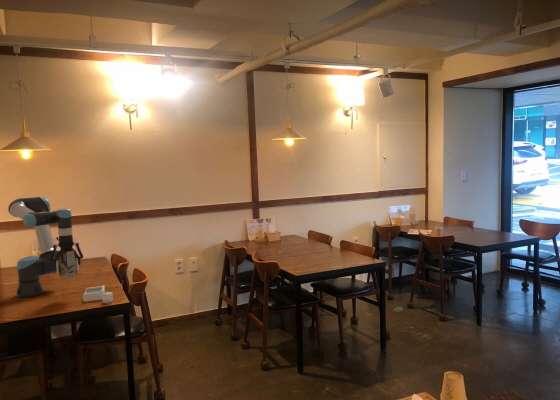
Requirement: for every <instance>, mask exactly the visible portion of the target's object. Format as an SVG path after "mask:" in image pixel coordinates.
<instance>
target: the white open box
mask: <svg viewBox="0 0 560 400" xmlns="http://www.w3.org/2000/svg"><path fill="white" fill-rule="evenodd" d="M105 292H106V288H105V284H104V285H100V286H93V287H86V288H85V291H84V292H83V296H82V298H83V299H82V301H83V302H84V303H85V302H86V303H87V302H93V301H103V300H102V294H103V293H105Z"/></svg>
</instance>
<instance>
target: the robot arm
mask: <svg viewBox="0 0 560 400" xmlns="http://www.w3.org/2000/svg"><path fill="white" fill-rule="evenodd" d="M7 210H8V213H9V214H10V215H11V216H12V217H15V218H18V219H20V220H22V222H23V225H24V226H25V227H26V228H34V231H35V234H36V239H37V243H38V246H39V247H38V248H39V251H40V254H39V255H30V256H26V257H23V258H21V259H19V260H17V263H16V271H17V279H18V280H17V281H18V285H17V289H16V291H15V295H16V296H15V297H16V298H19V299H22V298H25V299H26V298H33V297H38V296H40V295H43V294H44V293H45V289H44V286H43V284H42V281H41V279H40V278H41V276H47V275H52V274H57V273H58V274H59V264H58V257H59V255H60V254H61V252H62V250H75V249H74V247H76V249H77V250H76V251H77V252H78V253H77V252H76V262H77V272H79V269H80V265H81V259H83V258H84V255H83V252H82V250H81V247H80V242H74V237H73V236H74V235H73V221H72V210H71V209H70V208H60V209H57V210H53V211H51V204H50V202H49V200H48V199H47V197H44V196H35V197H21V198H17V199H15V200H13V201H11V202H10V203H9V205H8V207H7ZM50 225H57V233H58V243H54V239H53V235H52V231H51V227H50ZM58 247H59V248H60V249H59V250H58ZM57 251H59V253H58V252H57Z"/></svg>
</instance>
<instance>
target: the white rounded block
mask: <svg viewBox="0 0 560 400" xmlns="http://www.w3.org/2000/svg"><path fill="white" fill-rule="evenodd" d="M113 296H114V295H113V292H112V291H107V292H106V291H105V293H103V294H102V300H101V301H102V304H110V303H113V302H114V297H113Z"/></svg>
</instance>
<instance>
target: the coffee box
mask: <svg viewBox="0 0 560 400" xmlns="http://www.w3.org/2000/svg"><path fill="white" fill-rule="evenodd" d="M59 251H60V250H58V251H57V252H58V253H59ZM76 253H77V250H76V249H74V250H62V252H61V254H60V255H59V257H58V264H59V272H58V274H59V275H58V276H59V278H63V279H64V278H65V279H71V278H75V277H78V271H77V262H76V260H77V258H76Z"/></svg>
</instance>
